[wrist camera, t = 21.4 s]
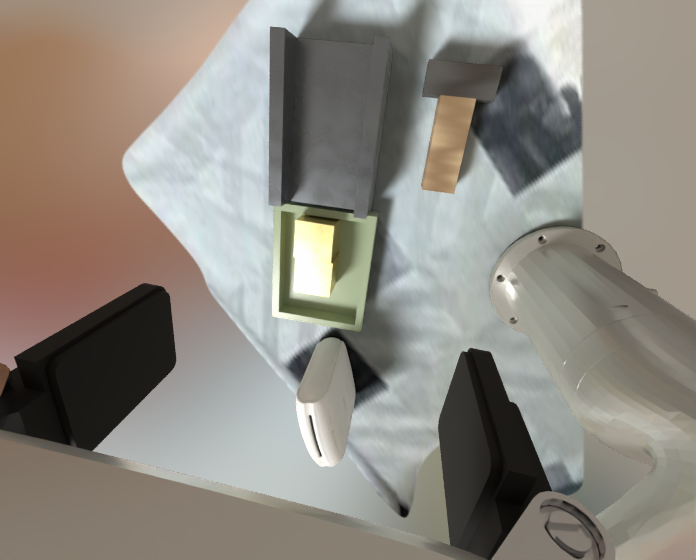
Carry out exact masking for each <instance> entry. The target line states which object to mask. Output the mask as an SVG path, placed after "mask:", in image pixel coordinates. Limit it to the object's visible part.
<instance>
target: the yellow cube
mask: <svg viewBox="0 0 696 560" xmlns="http://www.w3.org/2000/svg"><path fill="white" fill-rule="evenodd" d="M339 254H340V251H338V252H337V253H336V255H335V257H334V258H333V260H332V262H331V263H326V262H320V261H314V260H308V259H302V258H296V261H295V280H294V291H295V292H301V293H307V294H312V295H318V296H323V297H330V295H331V293H332V291H333V289H334V287H335V285H336V282H337V272H338V263H339Z"/></svg>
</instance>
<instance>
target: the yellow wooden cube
mask: <svg viewBox="0 0 696 560" xmlns="http://www.w3.org/2000/svg"><path fill="white" fill-rule="evenodd" d="M340 227H341V219H334V218H327V217H320V216H313V215H306V214H302V215H301V216H300V217H299V218H297V219H296V220H295V239H294V257H296V258H302V259H308V260H314V261H320V262H326V263H331V262H332V260H333V258H334V257H335V255H336V253H337V252H338V245H339V236H340Z"/></svg>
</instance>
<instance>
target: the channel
mask: <svg viewBox="0 0 696 560" xmlns="http://www.w3.org/2000/svg"><path fill="white" fill-rule="evenodd" d="M392 57H393V51H392V46H391V41H390V37H384V36H374V39H373V44H362V43H351V42H340V41H328V40H317V39H306V38H296V37H295V36H294V35H293V34H292V33H290V32H289V31H288V30H287V29H286V28H280V27H270V107H269V205H272V206H279V207H281V206H283V205H285V204H286V203H288V202H290V201H295V202H302V203H309V204H316V205H323V206H330V207H337V208H344V209H351V210H354V216H353V217H355V218H362V219H366V218H367V216H368V214H369V212H370V210H371V208H372V205H373V198H374V190H375V183H376V176H377V168H378V161H379V153H380V146H381V139H382V131H383V124H384V116H385V109H386V102H387V94H388V87H389V79H390V72H391V65H392Z"/></svg>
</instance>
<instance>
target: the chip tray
mask: <svg viewBox="0 0 696 560" xmlns="http://www.w3.org/2000/svg"><path fill="white" fill-rule="evenodd" d="M302 214H306V215H313V216H320V217H327V218H334V219H341V227H340V236H339V245H338V251H340V254H339V263H338V272H337V282H336V285H335V287H334V289H333V291H332V293H331V295H330V297H323V296H318V295H312V294H307V293H301V292H295V291H294V280H295V261H296V257H294V239H295V220H296V219H297V218H299V217H300V216H301V215H302ZM378 215H379V212H377V211H370V212H369V214H368V216H367V218H366V219H362V218H355V217H353V216H354V210H351V209H344V208H337V207H330V206H323V205H316V204H309V203H302V202H295V201H290V202H288V203H286V204H285V205H283V206H281V207H279V206H274V228H273V301H272V316H273V317H279V318H285V319H290V320H296V321H301V322H307V323H312V324H318V325H323V326H329V327H334V328H340V329H346V330H351V331H357V332H361V329H362V324H363V319H364V312H365V305H366V299H367V292H368V285H369V278H370V271H371V264H372V257H373V250H374V243H375V236H376V229H377V222H378Z"/></svg>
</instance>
